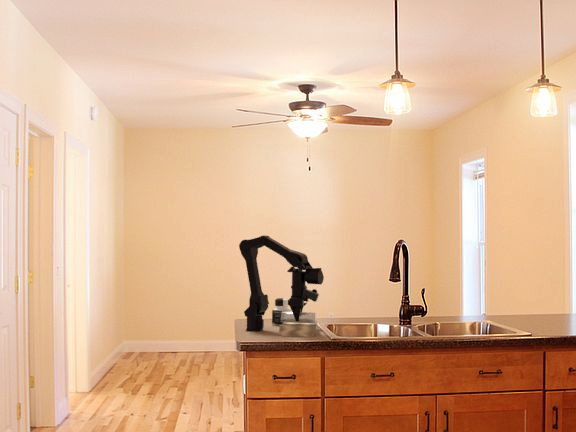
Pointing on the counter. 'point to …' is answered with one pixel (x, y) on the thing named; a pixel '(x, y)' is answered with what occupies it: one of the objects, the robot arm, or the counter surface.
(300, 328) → the beech v-block
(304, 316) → the steel axle
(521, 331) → the counter surface
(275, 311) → the medicine bottle
